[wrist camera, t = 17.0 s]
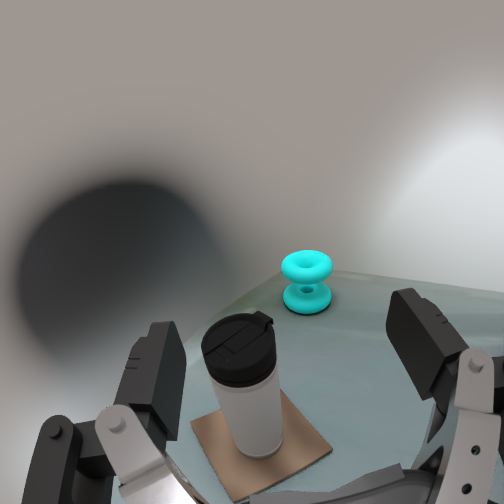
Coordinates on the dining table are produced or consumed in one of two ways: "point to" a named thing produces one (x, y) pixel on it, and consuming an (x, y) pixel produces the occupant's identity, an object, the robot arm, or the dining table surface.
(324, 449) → the walnut board
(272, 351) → the travel mug
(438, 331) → the robot arm
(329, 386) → the dining table surface
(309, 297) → the cyan spool
